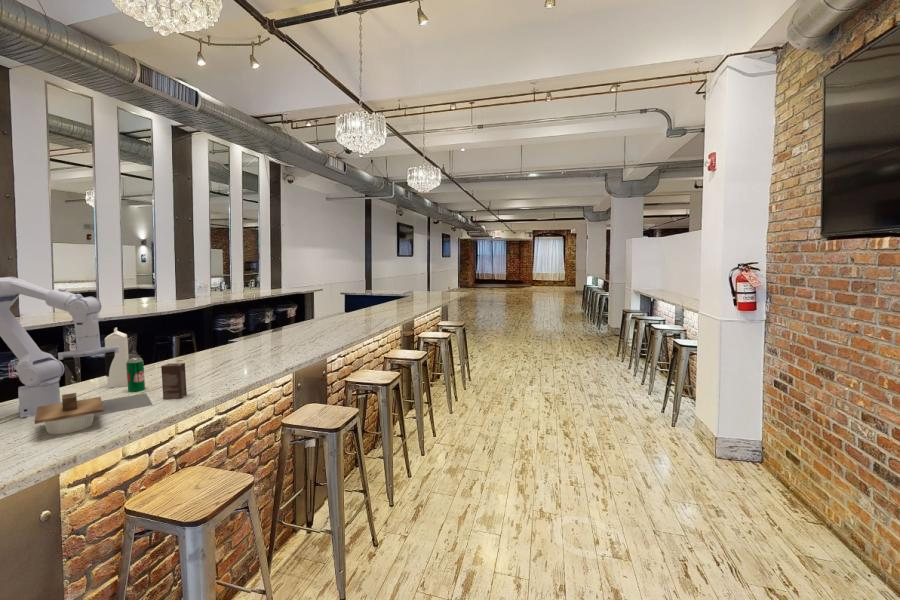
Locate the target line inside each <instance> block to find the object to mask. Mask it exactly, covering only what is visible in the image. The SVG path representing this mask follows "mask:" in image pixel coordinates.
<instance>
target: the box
mask: <svg viewBox="0 0 900 600" xmlns="http://www.w3.org/2000/svg"><path fill="white" fill-rule="evenodd" d="M160 368H161V382H162V384H161V385H162V386H161V387H162V399H163V400H177V399H178V400H181V399H183V398H184V397H186V396H187V394H188V392H187V378H186V377H187V376H186V363H185V362H175V363H174V362H173V363H165V364H163V365H161V366H160Z"/></svg>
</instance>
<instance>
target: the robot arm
mask: <svg viewBox="0 0 900 600" xmlns="http://www.w3.org/2000/svg"><path fill="white" fill-rule="evenodd" d="M20 295H23V296H26V297H31V298H35V299H38V300H42V301H44V302H45V304H46V305H47V306H49V307H51V308H55V309H58V310H61V311H64V312H68V314H69V315H70V316H71V318H72V321H73V323H74V333H75V341H76V343H75V344H76V349H75V350H68V351H62V352H58V353H57V358H55V357H54V355H53V354H51V353H48V352H46V351H42V349H40V348H39V346H38V344H37V343H36V342H35V341H34V340H33V338H32V337H31V335H30V334H29V333H28V332H27V331H26V329H25V328H24V327H23V326H22V324H21V322H19V320H18V319H17V317H16V316H15V314H14V313H12V311H11V310H10V309H11V306H13V305H14V303H15V302H16V301H17V299H18V298H19V296H20ZM101 310H102V303H101V301H100V300H99V299H98V298H97V297H94V296H86V297H84V296H83V295H82V294H81V293H73V292H69V291H67V288H64V287H61V288H55V289H52V290H50V289H48V288H45V287H42V286H40V285H37V284H34V283H32V282H29V281H27V280H25V279H24V278H17V277H15V276H5V277H0V338H1V339H2V340H3V342H4V343H5V344H6V346H7V347H8V348H9V349H10V351H11V352H12V353H13V354H14V356H15V357H16V358H17V359H18V362H17V364H16V365H15V368H14V369H15V371H17V373H18V374H17V375H18V379H19V381H20V382H21V383H22V384H23V386H22V385H21V386H18V389H17V390H18V394H17V395H18V403H19V404H18V411H19V415H20V417H19V418H21V419H23V418H27V417H29V416H34V415H35V416H36V411H37V407H40V406H46V405H53V404H59V403H62V400H61V391H60V380H61V377H62V376H63V374H64V373H65V366H66V367H67V368H68V370H69V371H70V373H71V375H72V378H73V381H74V382H78V375H77V370H76V359H75V358H80V357H81V358H82V357H90V356H98V355H104V360H105V377H106V378H107V377H108V376H109V371H110V367H111V364H112V361H113V359H114V357H115V353H119V348H118V346H112V347H105V346H102V345H101V338H100V337H101V335H100V326H99V316H98V315H99V313H100V312H101ZM101 346H102V347H101ZM61 360H63V362H62V361H61Z"/></svg>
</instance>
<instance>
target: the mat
mask: <svg viewBox="0 0 900 600" xmlns="http://www.w3.org/2000/svg"><path fill="white" fill-rule="evenodd" d="M101 401H102V405H103V410H104V412H99V413H94V417H95V416H97V417H98V416H101V415H102V416H103V415H107V414H112V413H118V412H123V411H128V410H134V409H140V408H145V407H151V406H153V404H154V403H152V401H151V399H150V397H149V396H148V394H147V393H140V394H134V395H128V396H121V397H117V398H111V399H104V400H101Z"/></svg>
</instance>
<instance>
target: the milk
mask: <svg viewBox="0 0 900 600" xmlns="http://www.w3.org/2000/svg"><path fill="white" fill-rule="evenodd" d="M128 341H129V340H128V334H127V333H124V332H121V331H119V330H118V327H114V328H113V332H112V333H110V334H108V335H107V336H106V337H105V338H104V347H112V346H118V348H119V353H115V357H114V359H113V361H112V364H111V367H110V371H109V376H108V377H106V378H107V387H108V389H111V388H110V387H116V388H121V387H122V388H124V387H123V386H125V387H128V384H127V369H126V362H127V359H130V357H129V346H128V345H129V343H128Z"/></svg>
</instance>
